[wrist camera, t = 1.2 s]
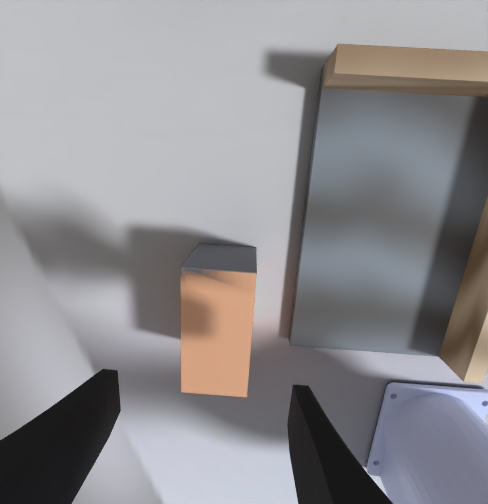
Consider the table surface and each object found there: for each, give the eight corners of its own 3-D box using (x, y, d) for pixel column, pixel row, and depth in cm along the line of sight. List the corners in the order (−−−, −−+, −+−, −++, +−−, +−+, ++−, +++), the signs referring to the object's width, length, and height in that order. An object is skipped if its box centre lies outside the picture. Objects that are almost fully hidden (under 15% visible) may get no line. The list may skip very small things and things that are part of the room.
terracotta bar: (248, 346, 21) (246, 397, 17) (197, 343, 22) (181, 392, 17) (256, 247, 19) (256, 272, 14) (198, 243, 19) (180, 267, 14)
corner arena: (448, 350, 21) (482, 383, 18) (288, 339, 21) (294, 368, 18) (532, 80, 16) (602, 57, 13) (321, 68, 16) (337, 43, 13)
